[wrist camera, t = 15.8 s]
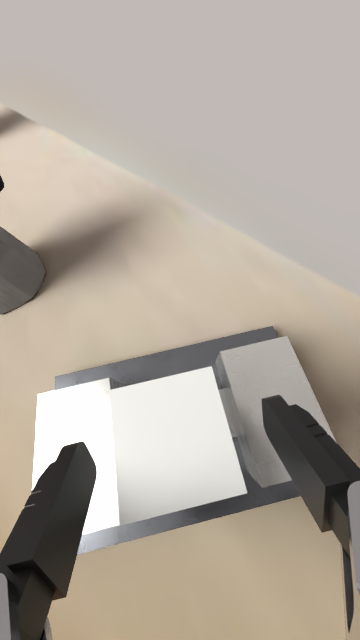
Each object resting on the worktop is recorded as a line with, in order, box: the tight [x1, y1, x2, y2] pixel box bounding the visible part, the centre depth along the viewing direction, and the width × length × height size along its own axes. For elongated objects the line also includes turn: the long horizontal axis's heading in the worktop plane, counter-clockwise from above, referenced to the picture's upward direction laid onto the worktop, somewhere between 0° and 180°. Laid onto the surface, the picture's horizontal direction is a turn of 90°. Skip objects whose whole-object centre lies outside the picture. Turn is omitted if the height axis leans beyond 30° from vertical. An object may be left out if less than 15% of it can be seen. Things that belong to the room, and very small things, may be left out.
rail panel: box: [32, 326, 337, 555], centre depth 15 cm, size 20×12×5 cm, turn 103°
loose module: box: [109, 366, 247, 526], centre depth 12 cm, size 4×4×9 cm
